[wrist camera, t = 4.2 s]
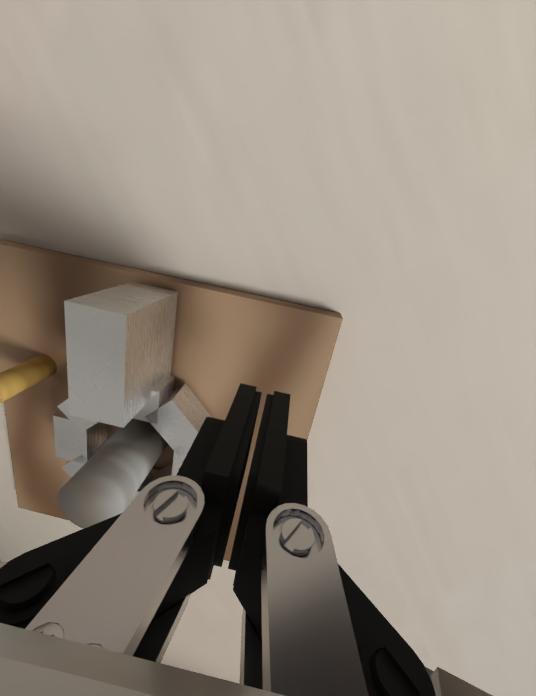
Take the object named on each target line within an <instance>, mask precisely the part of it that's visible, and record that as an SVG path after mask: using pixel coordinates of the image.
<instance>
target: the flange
mask: <svg viewBox="0 0 536 696" xmlns="http://www.w3.org/2000/svg"><path fill="white" fill-rule="evenodd" d="M177 295H178V292H176V291H172V290H167V289H163V288H158V287H154V286H149V285H144V284H140V283H135V282H130V283H127V284H123V285H119V286H116V287H112V288H108V289H105V290H101V291H98V292H94V293H90V294H87V295H83V296H79V297H76V298H72V299H69V300H65V301H64V310H65V332H66V354H67V375H68V397H69V398H68V399H67V400H65V401H64V402H63V403H61V404H60V405H58V406H57V407H58V408H59V409H60V411H59V412H57V413H56V414H54V415H53V423H54V438H55V452H56V457H58V458H62V459H66V460H68V461H67V462H66V463H65V464H64V465H63V466H61V468H62V469H63V470H64V471H65V472H66V473H67V474H68V475H69V476H70V477H71V478H72V477H73V476H74V474H75V473H76V472H77V471H78V470H79V469H80V468H81V467H82V466H83V465H84V464H85V463H86V462H87V461H88V460H89V459H90V458H91V457H92V456H93V455H94V454H95V453H96V452H97V451H98V450H99V449H100V448H101V447H102V445H103V444H104V443H105V442H106V441H107V440H108V439H107V424H110V425H114V426H118V427H122V428H124V427H125V426H126V425H127V424H128V423H129V421H130V420H131V419H132V418H134V419H138V420H142V421H146V422H150V423H151V424H152V426H153V427H154V428H155V429H156V430H157V431H158V433H159V434H160V435H161V436H162V437H163V438H164V440H165V441H166V442H167V443H168V444H169V445H170V447H171V448H172V449H173V450H174V457H173V463H172V464H170V465H168V466H166V467H164V468H162V469H160V470H158V469H154V468H152V469H151V471H150V472H149V474H148V475H147V477H146V478H145V480H144V481H143V483H142V484H141V486H140V487H139V489H138V490H137V492H136V493H135V495H134V496H133V498H132V499H131V501H130V502H129V504H128V505H127V507H128V506H129V505H130V503H131V502H132V501H133V500H134V499H135V497H136V496H137V495H138V494H139V493H140V491H141V490H142V489H143V488H144V487H146V486H147V485H148V484H149V483H150V482H152V481H154V480H156V479H158V478H161V477H165V476H176V475H177V473H178V471H179V469H180V467H181V465H182V463H183V461H184V459H185V457H186V455H187V453H188V451H189V449H190V448H191V446H192V444H193V442H194V440H195V438H196V436H197V434H198V432H199V430H200V428H201V426H202V424H203V422H204V421H205V419H206V417H212V416H211V415H210V414H209V412H208V411H207V410H206V409H205V407H204V406H203V405H202V403H201V402H200V401H199V400H198V398H197V397H196V396H195V395H194V393H193V392H192V391H191V390H190V388H189V387H188V386H187V385H186V383H185V384H183V385H182V386H180V387H179V388H177V389H175V390H174V391H173V388H174V377H175V376H171V363H172V352H173V341H174V329H175V318H176V306H177ZM212 418H213V417H212ZM127 507H126V508H127ZM126 508H125V509H126ZM124 511H125V510H124ZM124 511H123V512H124Z"/></svg>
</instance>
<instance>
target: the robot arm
mask: <svg viewBox="0 0 536 696" xmlns="http://www.w3.org/2000/svg"><path fill="white" fill-rule="evenodd" d="M256 388H257V387H256V386H251V385H247V384H242V383H240V386H239V388H238V390H237V393H236V395H235V398H234V400H233V403H232V405H231V407H230V410H229V412H228V415H227V417H226V419H225V420H221V419H217V418H212V417H206V419H205V421H204V422H203V424H202V426H201V428H200V430H199V432H198V434H197V436H196V438H195V440H194V442H193V444H192V446H191V448H190V449H189V451H188V453H187V455H186V457H185V459H184V461H183V463H182V465H181V467H180V469H179V471H178V473H177V475H176V476H165V477H161V478H158V479H156V480H154V481H152V482H150V483H149V484H148V485H147V486H146V487H144V488H143V489H142V490H141V491H140V493H139V494H138V495H137V496H136V497H135V499H134V500H133V501H132V502H131V503H130V505H129V506H128V507H127V508H126V509H125V511H124V512H123V513H121V514H118V515H116V516H114V517H111V518H109V519H106V520H104V521H101V522H99V523H97V524H94V525H92V526H89V527H87V528H84V529H82V530H80V531H77V532H75V533H72V534H70V535H68V536H65V537H63V538H60V539H58V540H55V541H53V542H51V543H48V544H46V545H43V546H41V547H38V548H36V549H34V550H31V551H29V552H26V553H24V554H22V555H20V556H18V557H16V558H14V559H13V560H11V561H9V562H0V696H492V695H490V694H488V693H486V692H484V691H483V690H481V689H479V688H477V687H475V686H473V685H471V684H469V683H467V682H466V681H464V680H462V679H460V678H458V677H456V676H454V675H452V674H450V673H448V672H447V671H445V670H443V669H441V668H439V667H437V668H436V670H435V671H432V670H430V669H428V668H427V667H425V666H424V665H423V663H422V662H421V660H420V659H419V658H418V656H417V655H416V654H415V652H414V651H413V650H412V648H411V647H410V646H409V645H408V644H407V643H406V641H405V640H404V639H403V638H402V637H401V636H400V635H399V633H398V632H397V631H396V630H395V629H394V628H393V627H392V625H391V624H390V623H389V622H388V621H387V620H386V618H385V617H384V616H383V615H382V614H381V613H380V612H379V610H378V609H377V608H376V607H375V606H374V605H373V604H372V602H371V601H370V600H369V599H368V598H367V597H366V595H365V594H364V593H363V592H362V591H361V590H360V589H359V587H358V586H357V585H356V584H355V583H354V582H353V580H352V579H351V578H350V577H349V576H348V575H347V574H346V572H345V571H344V570H343V569H342V568H341V567H340V566H339V564H338V563H337V559H336V554H335V550H334V546H333V542H332V537H331V534H330V531H329V529H328V526H327V524H326V523H325V522H324V520H323V519H322V517H321V516H320V515H318V514H317V513H316V512H315V511H314V510H312V509H310V508H308V504H307V440H306V439H304V438H299V437H295V436H291V435H287V429H288V417H289V406H290V394H287V393H282V392H278V391H274V394H273V395H271V394H267V396H266V401H265V405H264V410H263V414H262V418H261V423H260V427H259V431H258V436H257V440H256V445H255V449H254V453H253V458H252V462H251V466H250V471H249V475H248V480H247V484H246V489H245V493H244V498H243V502H242V507H241V512H240V516H239V521H238V525H237V530H236V535H235V539H234V544H233V548H232V553H231V557H230V562H229V567H228V569H232V570H236V574H235V579H234V584H233V585H234V588H233V591H234V592H235V594H236V596H237V597H238V599H239V601H240V603H241V604H242V606H243V614H242V632H241V660H240V684H238V683H234V682H230V681H226V680H223V679H219V678H215V677H211V676H207V675H203V674H199V673H196V672H192V671H188V670H184V669H180V668H176V667H172V666H168V665H164V664H161V660H162V658H163V656H164V654H165V652H166V649H167V647H168V645H169V643H170V641H171V639H172V636H173V634H174V632H175V630H176V628H177V625H178V623H179V621H180V619H181V617H182V614H183V612H184V610H185V608H186V606H187V604H188V600H189V597H190V594H191V593H192V592H194V591H196V590H197V589H199V588H200V587H202V586H203V585H205V584H206V583H207V580H208V579H210V577H211V573H212V569H213V566H214V565H216V566H220V567H221V566H222V563H223V559H224V555H225V551H226V547H227V543H228V538H229V534H230V530H231V526H232V522H233V518H234V514H235V510H236V506H237V502H238V498H239V494H240V490H241V486H242V482H243V478H244V474H245V469H246V465H247V461H248V457H249V452H250V447H251V442H252V438H253V433H254V428H255V423H256V419H257V414H258V409H259V405H260V400H261V395H262V392H258V391H256Z"/></svg>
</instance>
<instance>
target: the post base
mask: <svg viewBox="0 0 536 696" xmlns="http://www.w3.org/2000/svg"><path fill="white" fill-rule="evenodd" d="M130 282H135V283H140V284H144V285H149V286H154V287H158V288H163V289H167V290H172V291H176V292H178V295H177V306H176V318H175V329H174V341H173V352H172V363H171V376H175V377H174V388H173V391H174V390H175V389H177V388H179V387H180V386H182V385H183V384H185V383H186V385H187V386H188V387H189V388H190V390H191V391H192V392H193V393H194V395H195V396H196V397H197V398H198V400H199V401H200V402H201V403H202V405H203V406H204V407H205V409H206V410H207V411H208V412H209V414H210V415H211V416H212V417H213V418H217V419H221V420H225V419H226V417H227V415H228V412H229V410H230V407H231V405H232V403H233V400H234V398H235V395H236V393H237V390H238V388H239V386H240V383H242V384H247V385H251V386H256V387H257V388H256V391H258V392H262V395H261V400H260V405H259V409H258V414H257V419H256V423H255V428H254V433H253V438H252V442H251V447H250V452H249V457H248V461H247V465H246V469H245V474H244V478H243V482H242V486H241V490H240V494H239V498H238V502H237V506H236V510H235V514H234V518H233V522H232V526H231V530H230V534H229V538H228V543H227V547H226V551H225V555H224V559H223V560H227V561H230V557H231V553H232V548H233V544H234V539H235V535H236V530H237V525H238V521H239V516H240V512H241V507H242V502H243V498H244V493H245V489H246V484H247V480H248V475H249V471H250V466H251V462H252V458H253V453H254V449H255V445H256V440H257V436H258V431H259V427H260V423H261V418H262V414H263V410H264V405H265V401H266V396H267V394H271V395H273V394H274V391H278V392H282V393H287V394H290V406H289V417H288V429H287V435H291V436H295V437H299V438H304V439H306V440H307V439H308V436H309V432H310V429H311V425H312V422H313V419H314V415H315V412H316V408H317V405H318V401H319V398H320V395H321V391H322V388H323V384H324V381H325V377H326V374H327V370H328V367H329V364H330V360H331V357H332V353H333V350H334V346H335V343H336V340H337V336H338V333H339V329H340V326H341V322H342V316H341V314H340V313H336V312H332V311H327V310H323V309H318V308H313V307H309V306H304V305H300V304H295V303H290V302H286V301H281V300H277V299H272V298H267V297H263V296H258V295H254V294H249V293H244V292H240V291H235V290H231V289H226V288H222V287H217V286H212V285H208V284H203V283H199V282H194V281H189V280H185V279H180V278H176V277H171V276H166V275H162V274H157V273H153V272H148V271H143V270H139V269H134V268H130V267H125V266H120V265H116V264H111V263H107V262H102V261H97V260H93V259H88V258H84V257H79V256H74V255H70V254H65V253H61V252H56V251H52V250H47V249H42V248H38V247H33V246H29V245H24V244H19V243H15V242H10V241H6V240H0V403H2V402H4V405H5V412H6V420H7V427H8V434H9V442H10V449H11V457H12V464H13V472H14V479H15V487H16V494H17V502H18V507H19V508H23V509H27V510H31V511H35V512H39V513H43V514H47V515H51V516H54V517H58V518H62V519H66V520H70V521H71V522H72V523H74V524H75V525H77V526H79V527H81V528H87V527H89V526H92V525H94V524H97V523H99V522H101V521H104V520H106V519H109V518H111V517H114V516H116V515H118V514H121V513H123V511H124V510H125V508H126V507H127V505H128V504H129V502H130V501H131V499H132V498H133V496H134V495H135V493H136V492H137V490H138V489H139V487H140V486H141V484H142V483H143V481H144V480H145V478H146V477H147V475H148V474H149V472H150V471H151V469H152V468H154V469H158V470H160V469H162V468H164V467H166V466H168V465H170V464H172V463H173V457H174V450H173V449H172V448H171V447H170V445H169V444H168V443H167V442H166V441H165V440H164V438H163V437H162V436H161V435H160V434H159V433H158V431H157V430H156V429H155V428H154V427H153V426H152V424H151V423H150V422H146V421H142V420H138V419H134V418H132V419H131V420H130V421H129V423H128V424H127V425H126V426H125V427H124V428H122V427H118V426H114V425H110V424H107V439H108V440H107V441H106V442H105V443H104V444H103V445H102V447H101V448H100V449H99V450H98V451H97V452H96V453H95V454H94V455H93V456H92V457H91V458H90V459H89V460H88V461H87V462H86V463H85V464H84V465H83V466H82V467H81V468H80V469H79V470H78V471H77V472H76V473H75V474H74V476H73V477H72V478H71V477H70V476H69V475H68V474H67V473H66V472H65V471H64V470H63V469H62V468H61V466H63V465H64V464H65V463H66V462H67V461H68V460H66V459H62V458H58V457H56V452H55V438H54V423H53V415H54V414H56V413H57V412H59V411H60V409H59V408H58V407H57V406H58V405H60V404H61V403H63V402H64V401H65V400H67V399H68V398H69V397H68V375H67V354H66V332H65V310H64V301H65V300H69V299H72V298H76V297H79V296H83V295H87V294H90V293H94V292H98V291H101V290H105V289H108V288H112V287H116V286H119V285H123V284H127V283H130Z"/></svg>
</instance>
